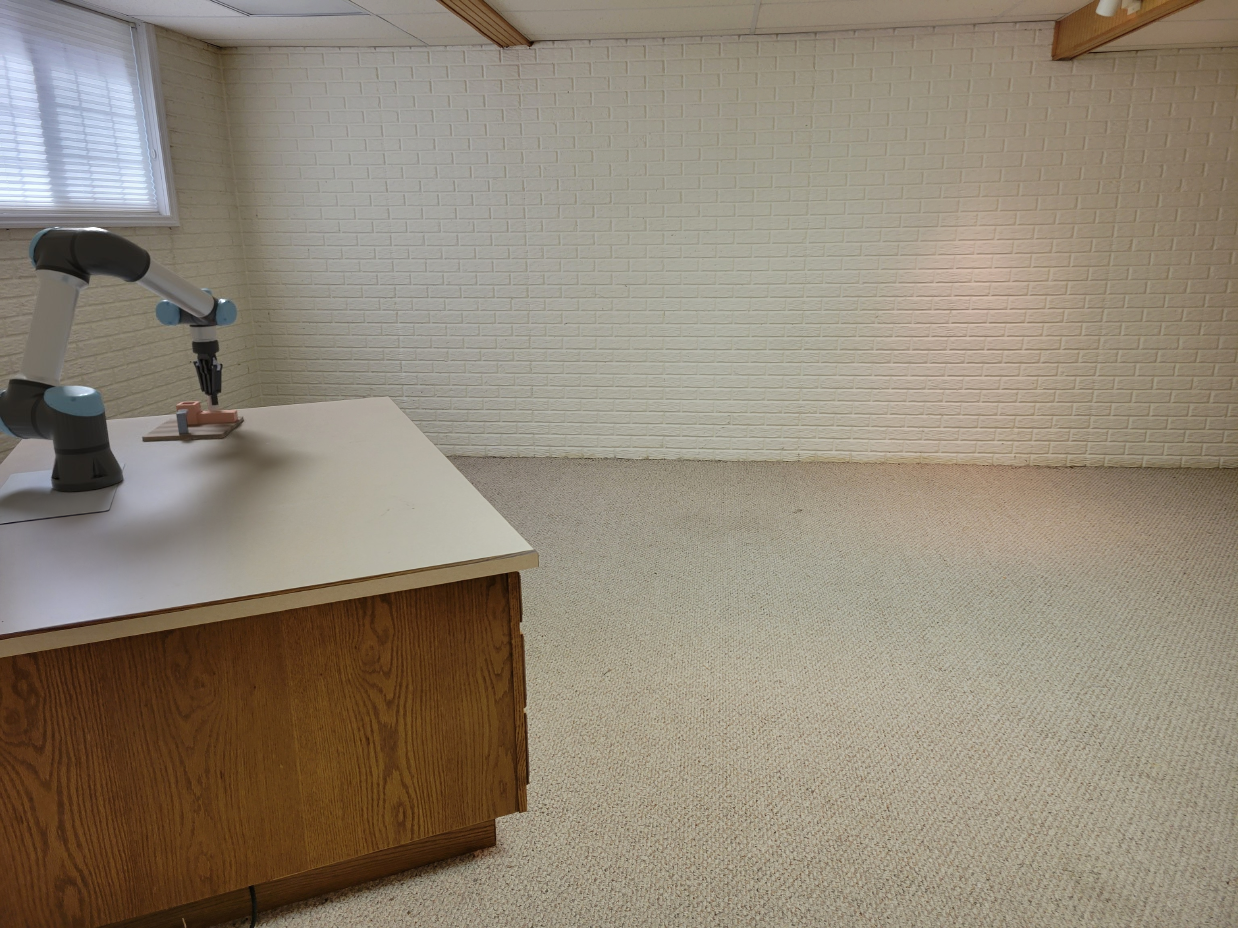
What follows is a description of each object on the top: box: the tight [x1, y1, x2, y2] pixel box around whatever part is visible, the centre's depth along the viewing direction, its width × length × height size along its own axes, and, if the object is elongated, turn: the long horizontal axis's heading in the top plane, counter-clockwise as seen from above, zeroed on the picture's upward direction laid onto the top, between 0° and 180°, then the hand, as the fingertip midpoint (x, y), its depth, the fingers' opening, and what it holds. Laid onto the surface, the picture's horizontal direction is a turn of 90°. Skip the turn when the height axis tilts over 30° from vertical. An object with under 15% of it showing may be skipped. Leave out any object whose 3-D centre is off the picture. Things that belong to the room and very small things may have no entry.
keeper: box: [175, 409, 189, 434], centre depth 263 cm, size 6×2×7 cm, turn 18°
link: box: [175, 400, 239, 424], centre depth 276 cm, size 16×5×6 cm, turn 98°
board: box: [141, 416, 245, 442], centre depth 271 cm, size 24×22×1 cm
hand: (214, 414), depth 280 cm, fingers closed
